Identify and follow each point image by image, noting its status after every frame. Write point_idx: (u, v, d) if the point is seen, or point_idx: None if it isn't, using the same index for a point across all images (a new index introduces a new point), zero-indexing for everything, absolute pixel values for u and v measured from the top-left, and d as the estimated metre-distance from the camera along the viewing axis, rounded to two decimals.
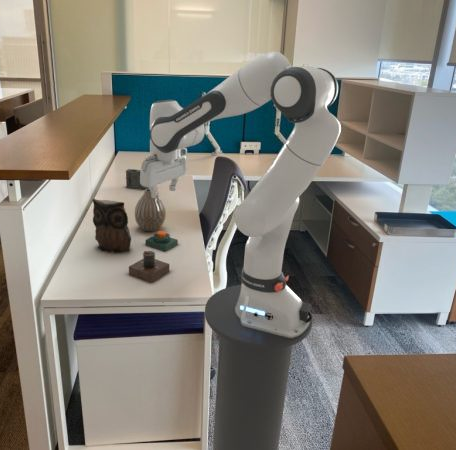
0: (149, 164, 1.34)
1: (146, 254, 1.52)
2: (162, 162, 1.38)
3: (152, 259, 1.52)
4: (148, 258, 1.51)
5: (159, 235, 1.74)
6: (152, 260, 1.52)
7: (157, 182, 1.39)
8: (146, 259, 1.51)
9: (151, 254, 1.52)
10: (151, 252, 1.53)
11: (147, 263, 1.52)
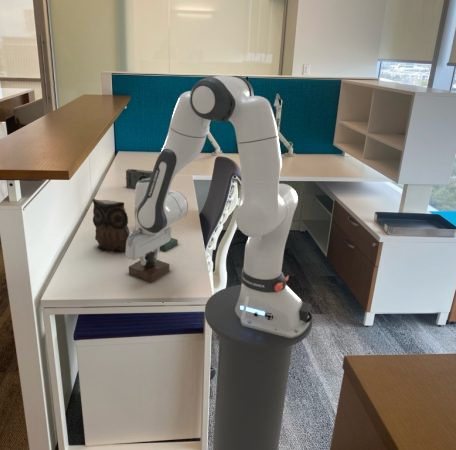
0: (134, 239, 1.42)
1: (146, 254, 1.52)
2: (147, 235, 1.46)
3: (152, 259, 1.52)
4: (148, 258, 1.51)
5: None
6: (152, 260, 1.52)
7: (142, 254, 1.47)
8: None
9: (151, 254, 1.52)
10: (151, 252, 1.53)
11: None
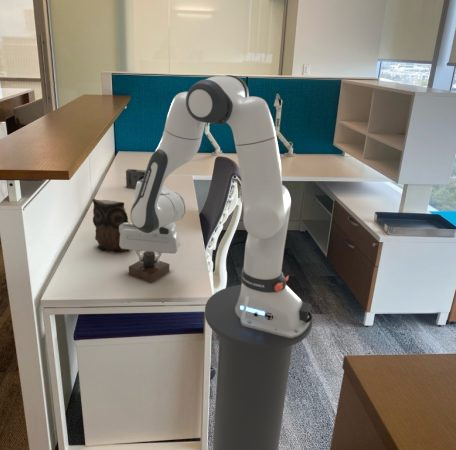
0: (123, 229, 1.49)
1: (145, 252, 1.53)
2: (138, 232, 1.48)
3: (146, 259, 1.52)
4: (143, 256, 1.52)
5: None
6: (146, 260, 1.52)
7: (131, 247, 1.51)
8: (143, 257, 1.53)
9: (147, 254, 1.52)
10: (152, 253, 1.52)
11: (143, 261, 1.53)
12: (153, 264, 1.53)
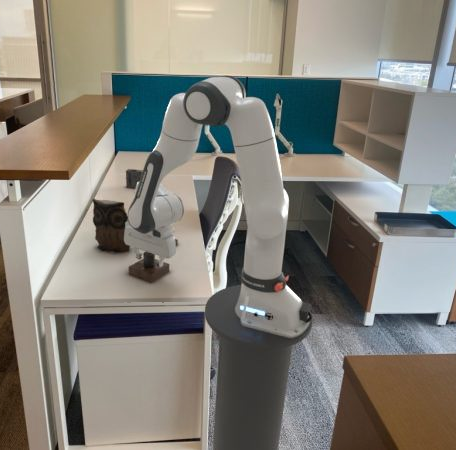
0: (127, 225, 1.53)
1: (147, 252, 1.53)
2: None
3: (144, 258, 1.52)
4: None
5: None
6: (144, 259, 1.52)
7: (133, 245, 1.53)
8: None
9: (146, 254, 1.52)
10: (151, 254, 1.52)
11: None
12: (151, 265, 1.52)
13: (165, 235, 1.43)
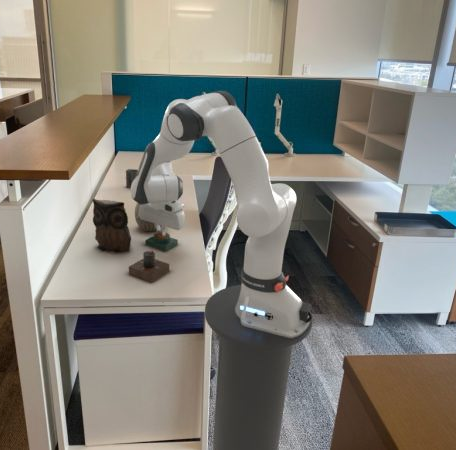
0: None
1: (147, 252, 1.53)
2: (152, 206, 1.71)
3: (144, 258, 1.52)
4: None
5: (159, 237, 1.74)
6: (144, 259, 1.52)
7: (147, 219, 1.75)
8: None
9: (146, 254, 1.52)
10: (151, 254, 1.52)
11: None
12: (151, 265, 1.52)
13: (176, 209, 1.65)
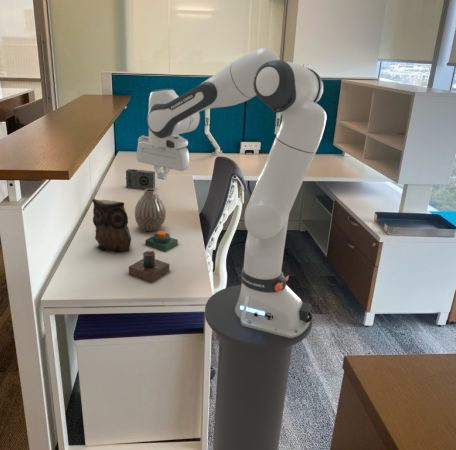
0: (140, 141, 1.53)
1: (147, 252, 1.53)
2: (151, 145, 1.50)
3: (144, 258, 1.52)
4: None
5: (159, 235, 1.74)
6: (144, 259, 1.52)
7: (145, 161, 1.53)
8: None
9: (146, 254, 1.52)
10: (151, 254, 1.52)
11: None
12: (151, 265, 1.52)
13: (179, 145, 1.43)
